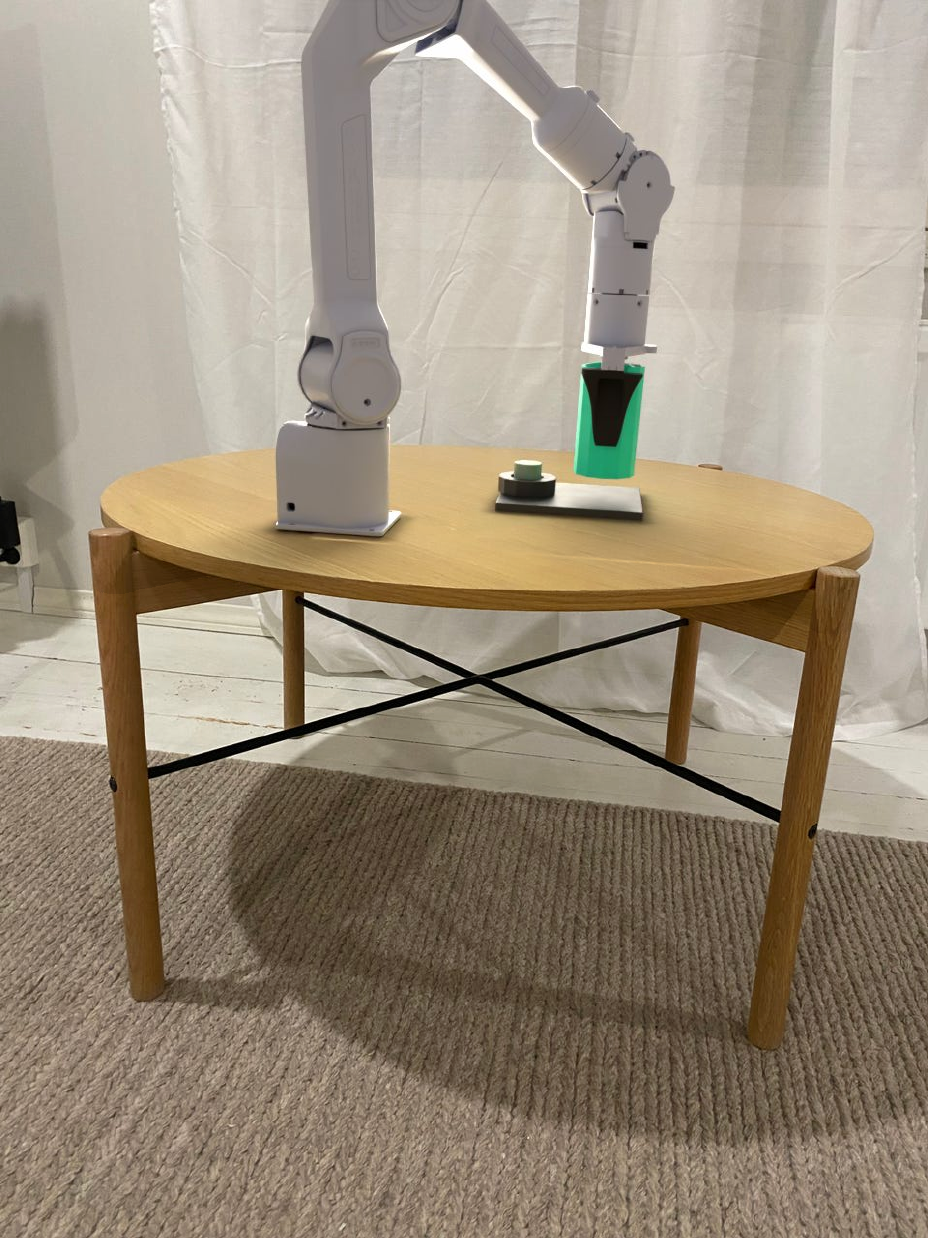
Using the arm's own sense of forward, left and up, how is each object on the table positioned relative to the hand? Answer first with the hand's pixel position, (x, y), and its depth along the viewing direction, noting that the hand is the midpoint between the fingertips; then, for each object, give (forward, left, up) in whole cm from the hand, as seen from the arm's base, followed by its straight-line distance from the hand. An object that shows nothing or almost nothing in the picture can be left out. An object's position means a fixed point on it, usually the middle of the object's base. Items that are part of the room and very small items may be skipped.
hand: (605, 441), depth 91 cm
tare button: (-8, 0, -4) cm, 9 cm away
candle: (0, 0, -3) cm, 3 cm away
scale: (-3, 0, -6) cm, 7 cm away
